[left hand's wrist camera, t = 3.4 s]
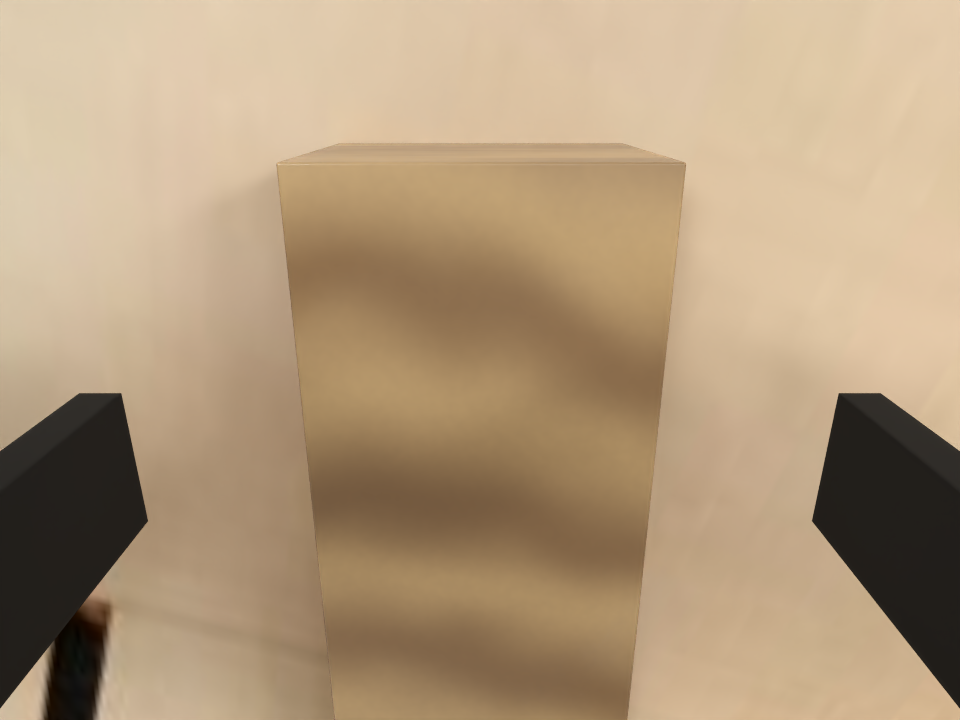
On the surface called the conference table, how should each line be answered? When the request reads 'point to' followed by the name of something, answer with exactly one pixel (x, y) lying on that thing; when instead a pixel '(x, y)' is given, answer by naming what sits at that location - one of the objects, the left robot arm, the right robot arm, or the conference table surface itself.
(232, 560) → the conference table surface
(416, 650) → the thick board
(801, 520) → the conference table surface
